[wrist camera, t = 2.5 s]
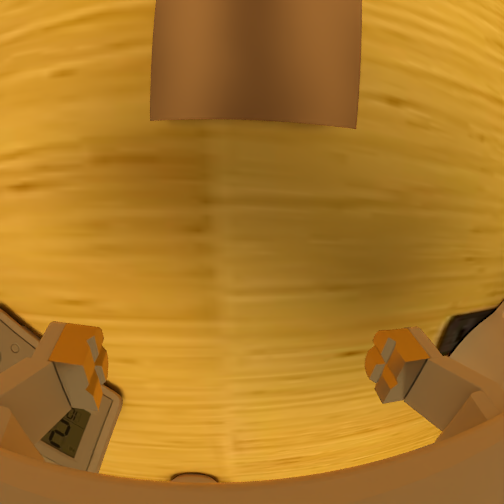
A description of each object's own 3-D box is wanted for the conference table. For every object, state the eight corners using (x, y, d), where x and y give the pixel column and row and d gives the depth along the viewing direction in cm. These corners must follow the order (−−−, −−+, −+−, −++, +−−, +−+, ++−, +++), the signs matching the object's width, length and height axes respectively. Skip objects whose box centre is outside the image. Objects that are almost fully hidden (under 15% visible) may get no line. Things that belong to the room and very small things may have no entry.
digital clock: (133, 397, 28) (118, 489, 19) (84, 418, 30) (65, 494, 20) (11, 282, 21) (-52, 365, 12) (-22, 322, 23) (-70, 393, 13)
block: (330, -14, 15) (360, -40, 10) (325, 122, 19) (355, 129, 15) (175, -25, 14) (164, -58, 9) (166, 117, 18) (150, 120, 14)
